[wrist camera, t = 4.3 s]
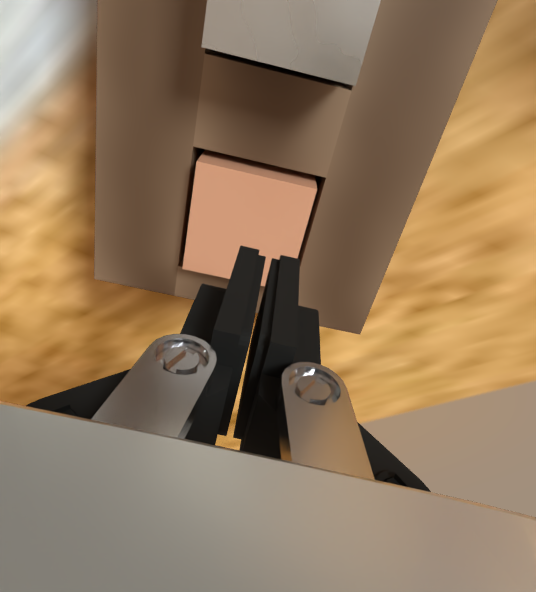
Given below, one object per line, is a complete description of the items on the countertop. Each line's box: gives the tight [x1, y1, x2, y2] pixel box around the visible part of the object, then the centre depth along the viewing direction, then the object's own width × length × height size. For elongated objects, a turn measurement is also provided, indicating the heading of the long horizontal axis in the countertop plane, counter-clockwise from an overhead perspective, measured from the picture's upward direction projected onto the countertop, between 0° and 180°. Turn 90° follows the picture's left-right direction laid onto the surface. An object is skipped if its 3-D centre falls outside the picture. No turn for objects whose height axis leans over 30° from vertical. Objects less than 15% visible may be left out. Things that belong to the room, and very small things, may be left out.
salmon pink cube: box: [182, 149, 317, 286], centre depth 18 cm, size 4×4×4 cm
